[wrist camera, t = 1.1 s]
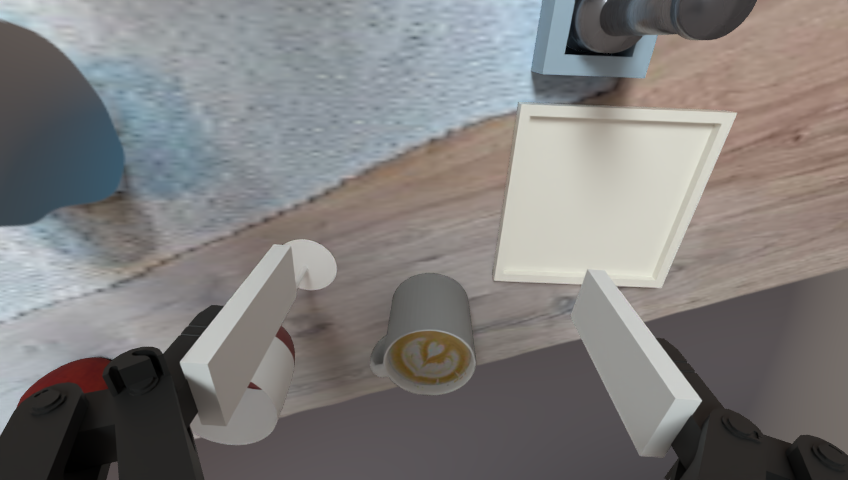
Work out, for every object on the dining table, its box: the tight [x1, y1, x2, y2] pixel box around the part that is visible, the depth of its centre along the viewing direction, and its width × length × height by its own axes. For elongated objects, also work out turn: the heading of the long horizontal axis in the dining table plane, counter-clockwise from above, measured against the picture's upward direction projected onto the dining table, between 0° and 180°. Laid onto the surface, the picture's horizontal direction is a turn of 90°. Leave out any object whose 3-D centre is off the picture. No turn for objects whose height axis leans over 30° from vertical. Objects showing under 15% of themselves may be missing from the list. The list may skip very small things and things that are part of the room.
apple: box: [17, 358, 110, 407], centre depth 50 cm, size 10×10×10 cm
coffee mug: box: [370, 273, 476, 395], centre depth 43 cm, size 13×10×10 cm
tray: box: [492, 102, 737, 288], centre depth 39 cm, size 20×20×2 cm
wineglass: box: [190, 239, 337, 445], centre depth 36 cm, size 8×9×20 cm
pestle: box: [566, 0, 757, 53], centre depth 24 cm, size 5×5×16 cm
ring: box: [531, 0, 658, 78], centre depth 30 cm, size 8×8×4 cm
